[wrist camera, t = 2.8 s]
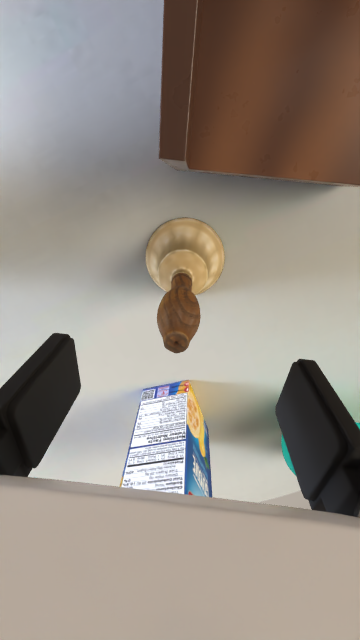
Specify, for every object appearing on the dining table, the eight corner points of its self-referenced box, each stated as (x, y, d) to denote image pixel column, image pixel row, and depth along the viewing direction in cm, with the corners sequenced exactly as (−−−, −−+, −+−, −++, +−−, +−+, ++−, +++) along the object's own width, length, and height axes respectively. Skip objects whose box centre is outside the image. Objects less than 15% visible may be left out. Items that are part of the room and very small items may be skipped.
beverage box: (188, 379, 34) (182, 628, 15) (208, 429, 39) (222, 665, 20) (143, 388, 36) (84, 629, 16) (167, 436, 41) (144, 664, 21)
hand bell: (140, 220, 25) (70, 271, 11) (225, 214, 24) (268, 261, 10) (150, 297, 29) (110, 406, 15) (223, 294, 28) (252, 405, 14)
